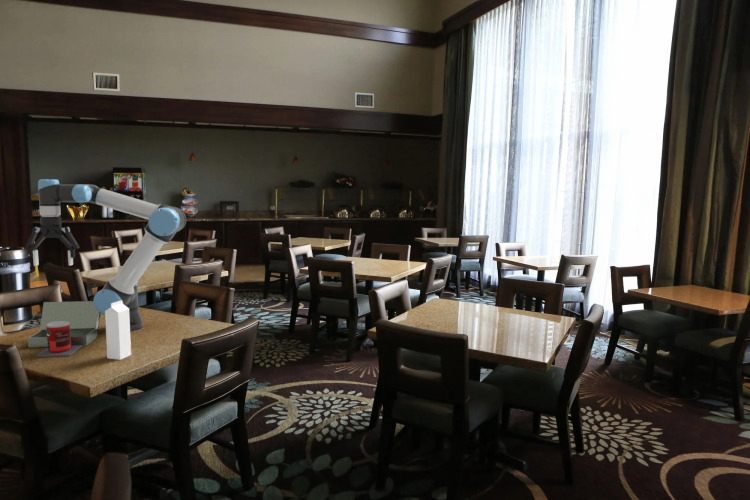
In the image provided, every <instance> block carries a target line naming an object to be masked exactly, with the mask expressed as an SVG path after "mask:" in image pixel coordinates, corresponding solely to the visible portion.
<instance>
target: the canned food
mask: <svg viewBox="0 0 750 500" xmlns="http://www.w3.org/2000/svg"><path fill="white" fill-rule="evenodd" d="M46 330H47V344H48V347H47V348H48V351H49V352H50V353H61V352H66V351H68V350H70V348H71V340H70V324H69V322H68V321H56V322H51V323H48V324H47V325H46Z"/></svg>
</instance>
